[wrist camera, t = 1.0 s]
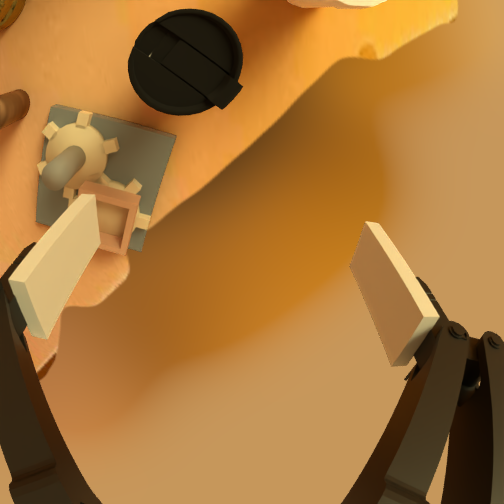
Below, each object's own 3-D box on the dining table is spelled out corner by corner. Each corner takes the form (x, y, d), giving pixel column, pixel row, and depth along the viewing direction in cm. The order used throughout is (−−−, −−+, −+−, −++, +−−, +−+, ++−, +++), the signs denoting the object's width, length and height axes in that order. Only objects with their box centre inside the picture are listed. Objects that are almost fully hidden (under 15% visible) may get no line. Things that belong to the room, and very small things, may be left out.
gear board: (56, 101, 29) (21, 116, 22) (178, 132, 34) (170, 154, 27) (40, 216, 37) (13, 252, 30) (142, 245, 42) (132, 287, 35)
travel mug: (201, 99, 32) (196, 144, 16) (155, 67, 29) (99, 77, 13) (237, 59, 30) (275, 57, 14) (192, 25, 27) (176, -16, 11)
